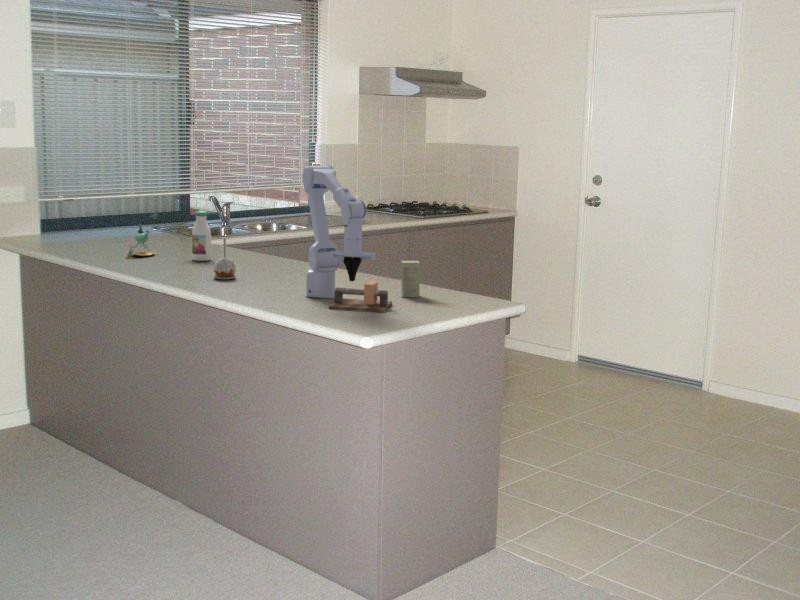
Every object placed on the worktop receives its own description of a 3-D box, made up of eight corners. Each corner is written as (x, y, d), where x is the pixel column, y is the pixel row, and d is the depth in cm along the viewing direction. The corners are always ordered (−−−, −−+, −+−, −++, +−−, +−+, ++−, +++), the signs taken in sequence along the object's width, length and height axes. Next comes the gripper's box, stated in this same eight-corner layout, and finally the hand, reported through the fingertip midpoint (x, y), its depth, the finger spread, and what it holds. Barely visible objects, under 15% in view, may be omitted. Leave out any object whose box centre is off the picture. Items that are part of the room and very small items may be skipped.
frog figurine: (114, 257, 390) (116, 222, 388) (149, 257, 404) (151, 223, 403) (129, 259, 384) (131, 223, 383) (163, 260, 399) (165, 225, 397)
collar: (363, 304, 300) (364, 284, 298) (368, 300, 306) (368, 281, 305) (373, 304, 299) (373, 284, 298) (377, 300, 305) (377, 281, 304)
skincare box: (418, 295, 325) (420, 260, 323) (419, 297, 321) (420, 262, 319) (400, 295, 325) (401, 260, 323) (400, 297, 321) (401, 262, 318)
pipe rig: (328, 308, 299) (328, 290, 298) (339, 301, 311) (339, 283, 310) (383, 312, 296) (384, 294, 294) (392, 304, 308) (392, 287, 307)
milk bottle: (202, 257, 394) (201, 210, 390) (215, 259, 390) (214, 211, 386) (188, 259, 388) (187, 211, 384) (201, 262, 384) (200, 213, 380)
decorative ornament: (239, 279, 347) (239, 239, 344) (220, 281, 342) (220, 240, 339) (229, 276, 353) (228, 236, 350) (210, 277, 348) (210, 237, 345)
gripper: (327, 239, 297) (327, 281, 300) (372, 241, 295) (371, 284, 297) (333, 236, 304) (332, 277, 307) (377, 238, 301) (376, 280, 304)
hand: (352, 280), depth 302 cm, fingers closed
